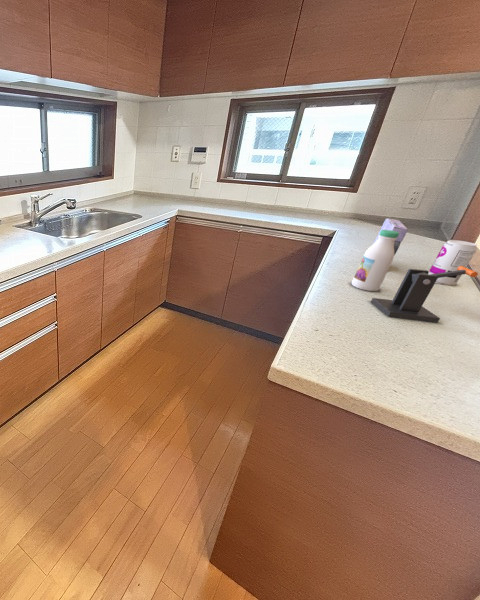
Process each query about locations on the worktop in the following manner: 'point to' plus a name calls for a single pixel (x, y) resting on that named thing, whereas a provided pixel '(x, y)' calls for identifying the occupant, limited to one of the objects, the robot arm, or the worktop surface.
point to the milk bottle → (376, 262)
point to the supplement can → (452, 259)
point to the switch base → (410, 298)
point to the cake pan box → (394, 226)
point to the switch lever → (451, 273)
